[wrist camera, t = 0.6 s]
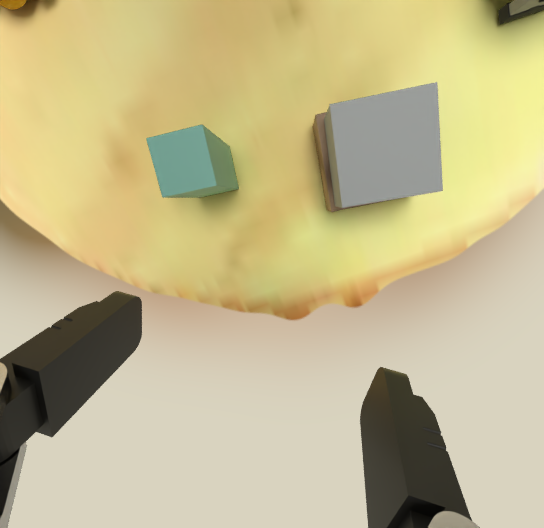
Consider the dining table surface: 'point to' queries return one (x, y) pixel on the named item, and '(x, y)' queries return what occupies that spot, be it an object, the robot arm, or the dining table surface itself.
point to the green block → (192, 163)
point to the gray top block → (384, 146)
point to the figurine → (519, 9)
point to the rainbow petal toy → (12, 3)
